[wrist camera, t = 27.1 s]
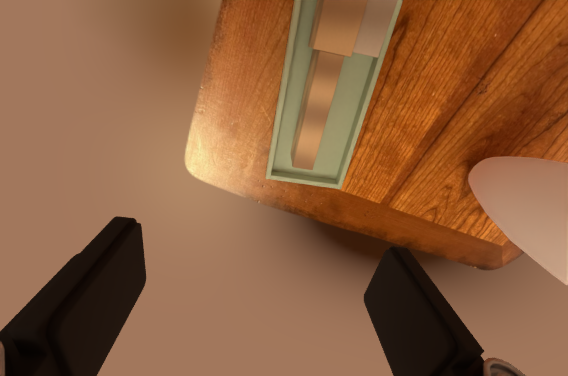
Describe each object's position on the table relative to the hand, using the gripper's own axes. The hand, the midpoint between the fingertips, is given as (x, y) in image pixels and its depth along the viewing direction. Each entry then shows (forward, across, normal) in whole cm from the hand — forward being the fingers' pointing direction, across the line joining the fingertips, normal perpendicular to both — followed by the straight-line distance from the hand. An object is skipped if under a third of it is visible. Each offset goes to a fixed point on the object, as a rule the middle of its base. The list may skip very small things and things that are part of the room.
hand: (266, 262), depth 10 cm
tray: (+23, -6, -4) cm, 24 cm away
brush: (+22, -6, -6) cm, 24 cm away
